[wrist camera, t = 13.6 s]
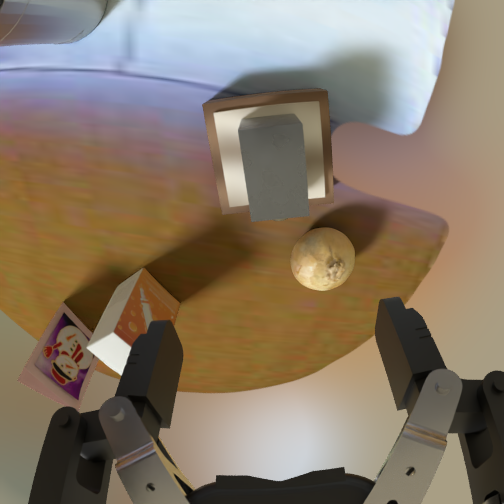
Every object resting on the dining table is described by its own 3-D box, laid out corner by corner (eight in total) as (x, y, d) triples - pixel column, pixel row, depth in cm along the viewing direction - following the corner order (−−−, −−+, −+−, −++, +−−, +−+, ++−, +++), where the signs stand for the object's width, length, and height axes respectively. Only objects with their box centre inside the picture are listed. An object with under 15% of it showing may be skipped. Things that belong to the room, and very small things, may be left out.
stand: (208, 100, 32) (201, 105, 28) (319, 88, 31) (328, 91, 27) (225, 200, 38) (222, 216, 34) (326, 189, 37) (334, 205, 33)
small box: (181, 302, 47) (163, 372, 36) (153, 318, 49) (131, 384, 38) (143, 265, 43) (112, 332, 32) (116, 284, 46) (84, 348, 34)
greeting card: (107, 344, 53) (81, 411, 40) (83, 352, 55) (57, 413, 42) (65, 300, 48) (27, 366, 35) (44, 311, 50) (8, 372, 37)
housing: (241, 119, 29) (237, 130, 24) (294, 113, 28) (302, 123, 23) (254, 205, 34) (253, 234, 29) (302, 200, 33) (310, 228, 28)
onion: (342, 272, 44) (354, 307, 38) (286, 271, 44) (290, 306, 38) (353, 221, 39) (369, 251, 33) (291, 218, 39) (297, 248, 33)
